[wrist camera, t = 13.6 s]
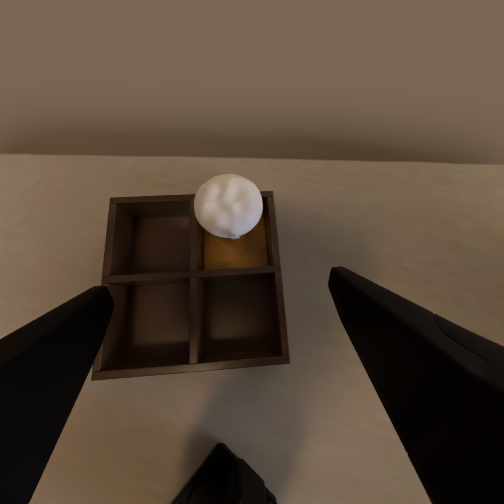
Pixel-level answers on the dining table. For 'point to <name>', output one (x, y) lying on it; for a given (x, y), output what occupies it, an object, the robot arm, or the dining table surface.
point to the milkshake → (229, 211)
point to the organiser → (188, 293)
